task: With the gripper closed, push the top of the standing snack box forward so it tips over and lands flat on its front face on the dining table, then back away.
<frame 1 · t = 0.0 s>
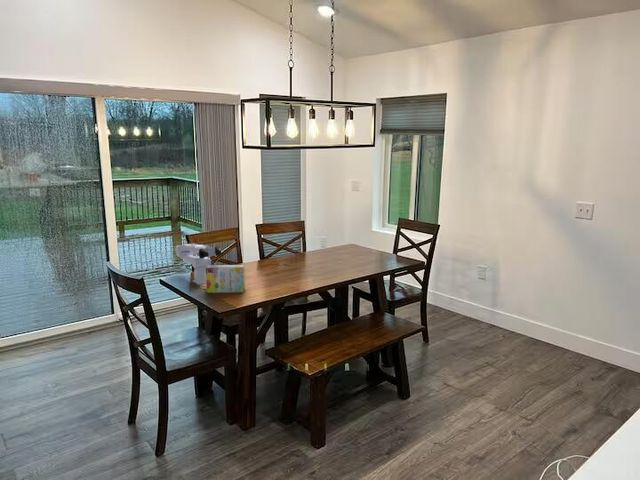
hand: (214, 253, 262), 22 cm above the table, tool horizontal, fingers open, 7 cm apart
snack box: (226, 291, 264), on the table
cork coaster: (207, 286, 272), on the table
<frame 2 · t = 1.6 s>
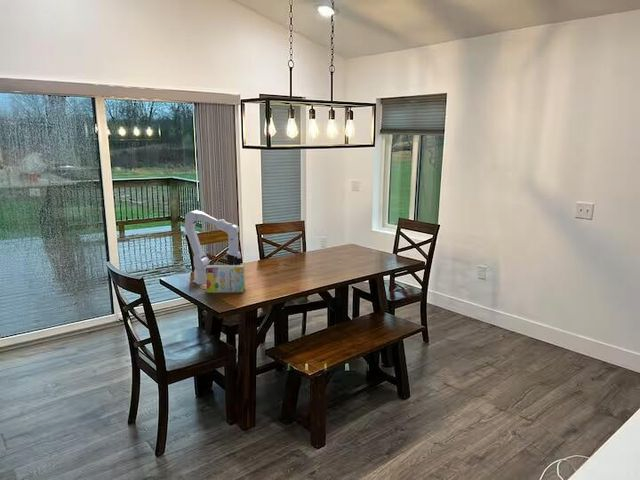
hand: (234, 267, 275), 10 cm above the table, tool pointing down, fingers open, 7 cm apart
nothing on the table moved.
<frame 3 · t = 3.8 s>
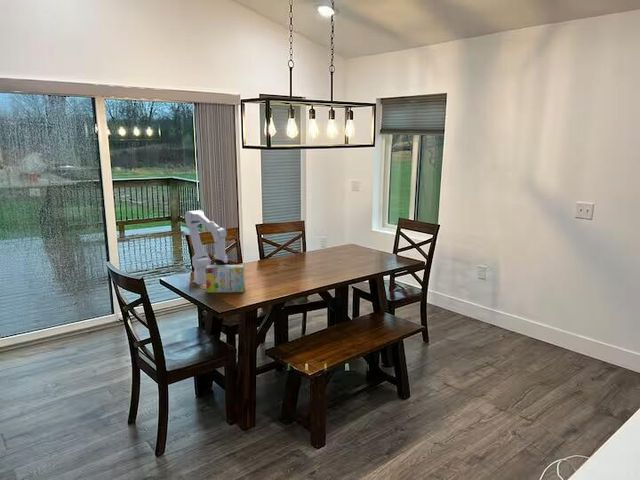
hand: (221, 272, 267), 10 cm above the table, tool pointing down, fingers closed
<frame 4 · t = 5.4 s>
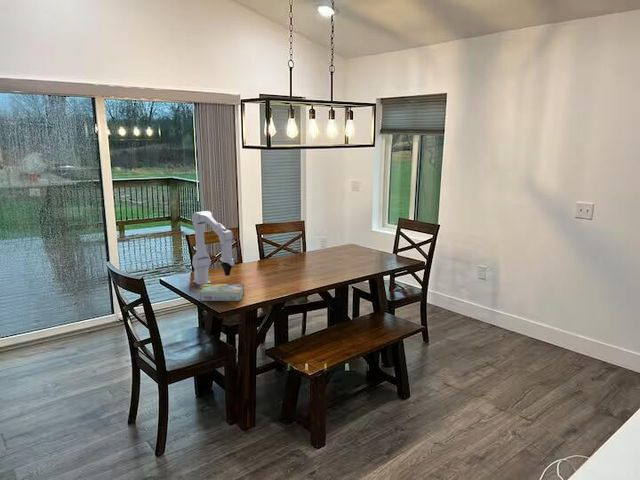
hand: (227, 275, 260), 10 cm above the table, tool pointing down, fingers closed
snack box: (225, 287, 261), point 3 cm above the table
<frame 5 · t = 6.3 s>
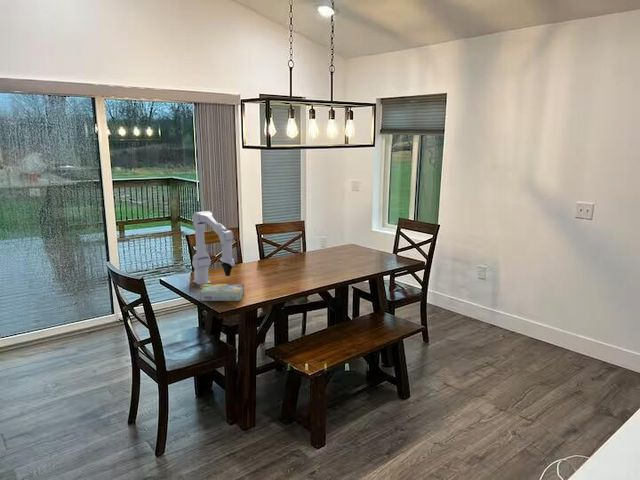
hand: (227, 275, 260), 10 cm above the table, tool pointing down, fingers closed
nothing on the table moved.
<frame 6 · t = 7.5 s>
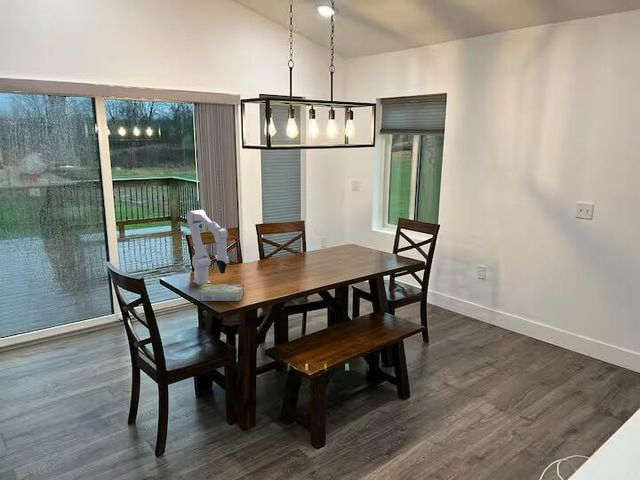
hand: (222, 273, 265), 10 cm above the table, tool pointing down, fingers closed
nothing on the table moved.
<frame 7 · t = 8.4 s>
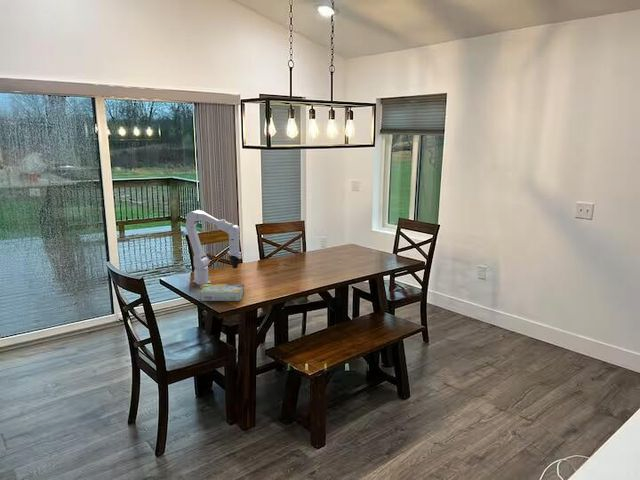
hand: (234, 268, 274), 10 cm above the table, tool pointing down, fingers closed
nothing on the table moved.
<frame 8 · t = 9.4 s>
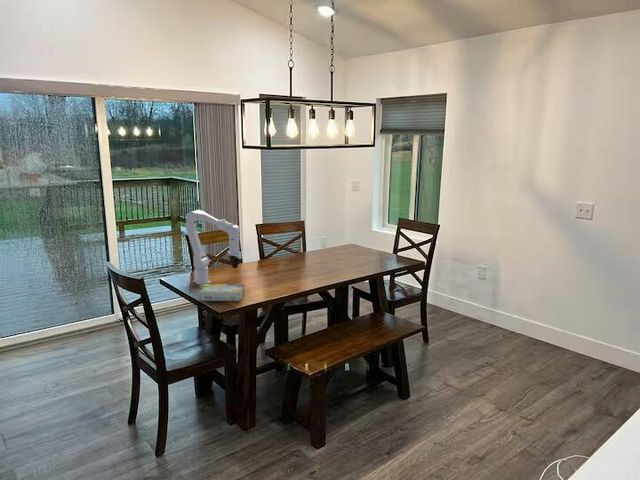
hand: (234, 268, 274), 10 cm above the table, tool pointing down, fingers closed
nothing on the table moved.
at the end: snack box tilted 91°; snack box inside the target area (9.6 cm from its centre), point 3.0 cm above the table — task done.
